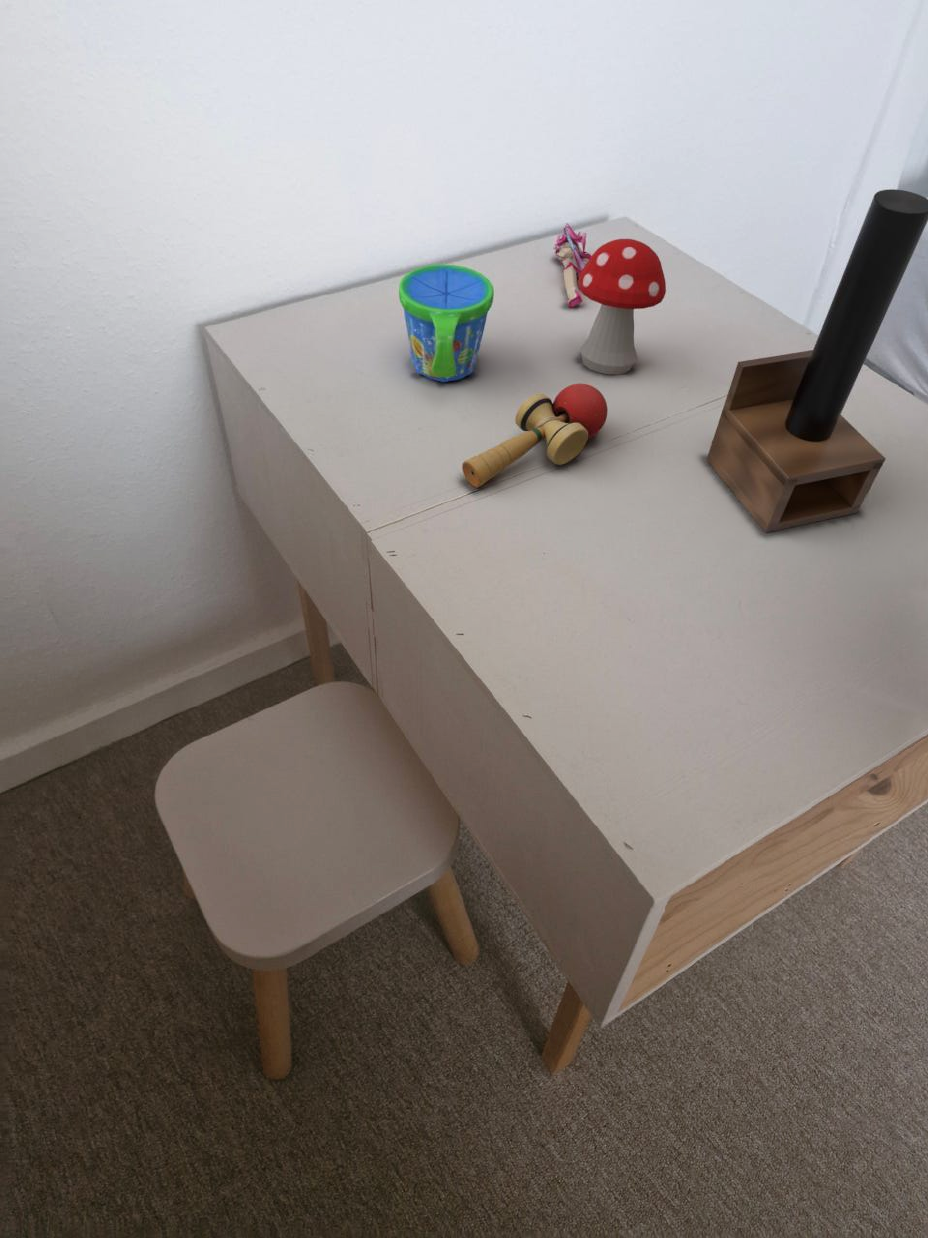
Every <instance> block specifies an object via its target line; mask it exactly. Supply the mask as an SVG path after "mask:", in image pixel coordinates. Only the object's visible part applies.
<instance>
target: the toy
mask: <svg viewBox="0 0 928 1238" xmlns="http://www.w3.org/2000/svg"><path fill="white" fill-rule="evenodd" d="M586 239H587V232H583V233H582V234H581V231H578V233H576V232H575V231H574V230H573V228H572V226H571V225H570V224H569V223H568V222H566V223H565V226H564V228H563V233H562V234H558V236H557V239H556V242H555V244H554V247H553V250H554V256H555V257H556V258H557V257H558V261H559V263H560V264H561V265H563V267H564V268H563V269H562V273H563V281H564V287H565V291H566V295H567V297H568V299H569V300H568V301H567V307H569V308H574V307H576V306H578V305H580V304H581V303H582V302H583V298H582V296H581V294H580V293H579V289H578V282H577V281H579V276H580V274H581V271H582V269H583V268H584V266H585V265H586V263H587V262H588V261H589V259H590V258H591V256H592V255H591V254H590V253H589V252H587V251H585V250H586V245H587V243H586V242H587V240H586ZM580 244H581V246H582V249H581V247H580ZM583 259H586V260H587V261H585V260H583Z"/></svg>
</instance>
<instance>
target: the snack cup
mask: <svg viewBox="0 0 928 1238" xmlns="http://www.w3.org/2000/svg"><path fill="white" fill-rule="evenodd" d="M494 293H495V291H494V286H493V284H492V282H491V280H489V278H487V277H486V275H484V274H482V273H481V272H479V271H476V270H474V269H472V268H469V267H466V266H461V265H455V264H430V265H429V264H428V265H425V266H420V267H417V268H415V269H413V270H410V271H409V272H407V273H406V274H405V275H404V276H403V277H402V278H401V280H400V282H399V285H398V299H399V303H400V304H401V307H402V309H403V312H404V321H405V326H406V333H407V340H408V346H409V353H410V355H411V360H412V361H411V362H412V364H413V366H414V369H415V371H416V373H417V375H422V376H424V377H426V378H428V379H430V380H433V381H439V382H440V383H448V382H452V381H453V382H454V381H458V380H461V379H464V378H465V377H467V376H470V375H471V374H472V373H473V371H474V369H475V366H476V364H477V361H478V356H479V353H480V348H481V342H482V340H483V336H484V331H485V327H486V324H487V323H486V322H487V317H488V314H489V311H490V309H491V308H492V305H493V302H494Z"/></svg>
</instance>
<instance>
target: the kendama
mask: <svg viewBox="0 0 928 1238" xmlns="http://www.w3.org/2000/svg"><path fill="white" fill-rule="evenodd" d="M607 418H608V403H607V400H606V398H605V397H604V395H603V394H602V392H601V391H600V390H599V389H598V388H596V387H595V386H593V385H590V384H588V383H581V382H580V383H572V384H570V385H568V386H565V387H564V388H563V389H561V390H560V391H559V392H558V393H557V395H556V396H555V398H554V400H552V399H551V398H550V397H549V396H548V395H547V394H544V393H541V392H540V393H539V392H537V393H534V394H533V395H531V396H529V397H528V398H527V399H526V400H524V401H523V403H522V404H521V405H520V407H519V408H518V410H517V412H516V413H515V424H516V425H517V427H518V428H519V429H520V430H521V431H524V432H523V433H521V434H518V435H516V436H513V437H511V438H509V439H507V440H505V441H502V442H501V443H500V444H497V445H495V446H493V447H491V448H489V449H487V450H485V451H484V452H483V451H482V452H481V453H479V454H477V455H474V456H473V457H470V458H469V459H466V460H465V461H463V462H462V464H461V469H462V472H463V475H464V477H465V479H466V480H467V482H468V483H469V484H470V485H471V486H472V487H473V488H477V489H478V488H480V487H481V486H483V485H484V484H485V483H487V482H488V481H489V480H490V479H492V478H494V477H495V476H496V475H497V474H499V473H500V472H502V471H504V470H505V469H506V468H508V467H509V466H510V465H512V464H514V463H515V462H516V461H517V460H519V459H521V458H522V457H523V456H524V455H526V454H527V453H528V452H530V450H532V449H533V448H534V447H535V446H537V445H538V444H539V443H540V442H541V441H542V440H544V441H545V443H546V457H547V458H548V459H549V460H550V461H551V462H552V464H555V465H556V466H563V465H565V464H567V463H569V462H571V461H572V460H573V459H574V458H576V457H577V456H578V455H579V454H580V453H581V452H582V451H583V449H584V447H585V446H586V443H587V441H588V439H591V438H594V437H595V436H596V435H598V433H599V432H600V431H601V430H602V429H603V427H604V426H605V423H606V421H607Z"/></svg>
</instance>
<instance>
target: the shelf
mask: <svg viewBox="0 0 928 1238" xmlns="http://www.w3.org/2000/svg"><path fill="white" fill-rule="evenodd" d="M812 352H813V349H811V350H804V351H799V352H792V353H791V352H790V353H785V354H779V355H772V356H767V357H766V356H765V357H760V358H753V359H748V360H742V361H741V360H740V361H738V362H737V364H736V367H735V370H734V373H733V377H732V380H731V383H730V386H729V388H728V392H727V395H726V398H725V401H724V404H723V408H722V411H721V414H720V417H719V419H718V422H717V426H716V429H715V432H714V435H713V438H712V441H711V444H710V447H709V451H708V454H707V457H706V461H707V462H708V464H709V465H710V466H711V467H712V469H713V470H714V471H715V472H716V474H717V475H718V476H719V477H720V479H721V480H722V481H723V482H724V484H725V485H726V486H727V487H728V488H729V490H730V491H731V492H732V493H733V494H734V496H735V497H736V498H737V499H738V501H739V502H740V503H741V505H743V507H744V508H745V510H746V511H747V512H748V513H749V514H750V515H751V517H752V518H753V519H754V521H755V522H756V523H757V524H758V526H759V527H760V528H761V529H762V531H763V532H764V533H770V532H774V531H775V532H776V531H779V530H784V529H788V528H789V529H790V528H793V527H799V526H803V525H808V524H812V523H817V522H821V521H826V520H831V519H837V518H840V517H844V516H850V515H855V514H858V513H859V510H860V509H861V507H862V505H863V503H864V501H865V500H866V497H867V496H868V494H869V491H870V490H871V488H872V486H873V485H874V482H875V480H876V478H877V477H878V474H879V472H880V470H881V468H882V467H883V465H884V463H885V461H886V457H885V456H883V455H884V454H882V453H881V452H880V451H879V450H878V449H876V447H874V445H872V443H870V442H869V441H868V439H866V438H865V436H863V434H861V433H860V432H859V431H858V430H857V428H855V427H854V425H852V424H851V423H850V422H849V421H848V420H847V418H845V417H844V416H843V415H842V413H841V414H840V417H839V419H838V421H837V423H836V426H835V428H834V430H833V432H832V434H831V436H830V437H829V438H828V439H827V440H824V441H820V442H811V441H805V440H802V439H799V438H797V437H795V436H794V435H792V434H791V433H790V432H789V431H788V430H787V429H786V427H785V420H786V417H787V415H788V412H789V410H790V407H791V405H792V402H793V400H794V397H795V395H796V392H797V390H798V387H799V385H800V382H801V379H802V377H803V374H804V372H805V369H806V367H807V364H808V362H809V359H810V357H811V354H812Z"/></svg>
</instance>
